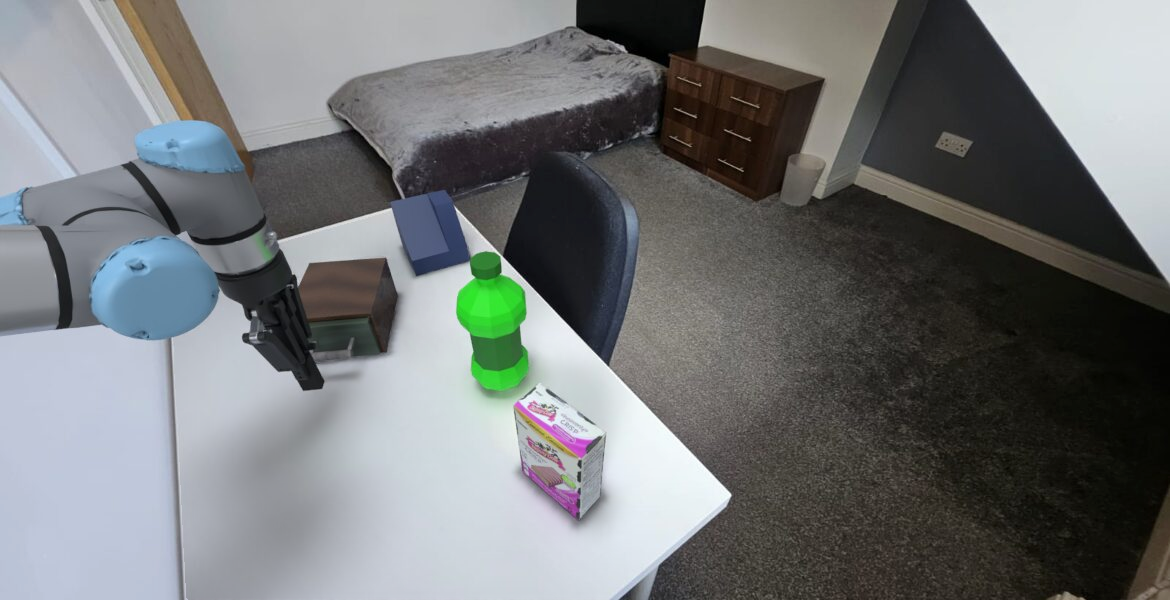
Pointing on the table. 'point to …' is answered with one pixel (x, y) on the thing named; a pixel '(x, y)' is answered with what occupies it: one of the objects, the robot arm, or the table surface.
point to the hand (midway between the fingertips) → (313, 386)
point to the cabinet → (351, 293)
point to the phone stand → (430, 232)
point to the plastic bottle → (494, 323)
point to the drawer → (343, 339)
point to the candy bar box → (560, 449)
